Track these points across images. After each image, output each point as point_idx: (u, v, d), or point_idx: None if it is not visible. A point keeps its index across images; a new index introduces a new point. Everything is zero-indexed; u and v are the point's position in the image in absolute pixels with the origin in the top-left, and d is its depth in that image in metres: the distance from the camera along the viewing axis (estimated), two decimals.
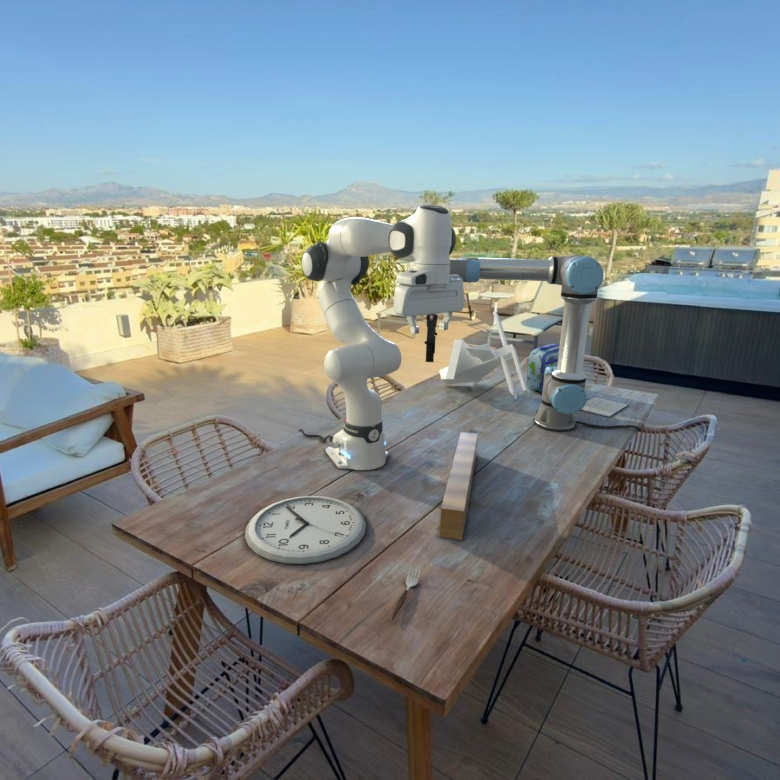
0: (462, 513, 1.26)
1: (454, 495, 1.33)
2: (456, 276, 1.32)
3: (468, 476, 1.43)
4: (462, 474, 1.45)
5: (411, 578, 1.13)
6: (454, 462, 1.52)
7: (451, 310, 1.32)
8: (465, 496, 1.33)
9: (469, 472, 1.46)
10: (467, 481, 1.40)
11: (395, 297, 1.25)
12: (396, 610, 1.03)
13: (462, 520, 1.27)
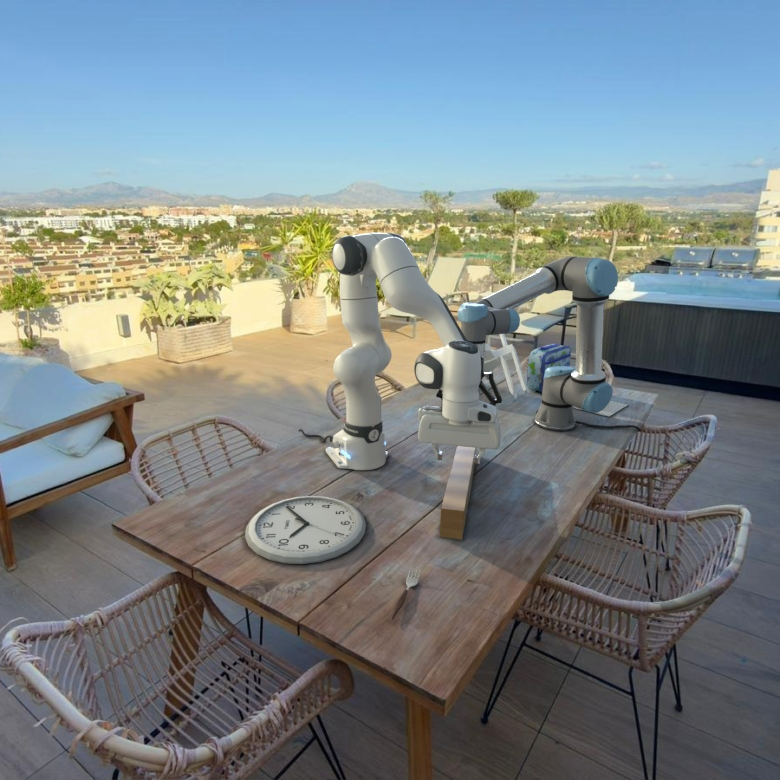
0: (462, 513, 1.26)
1: (454, 495, 1.33)
2: None
3: (468, 476, 1.43)
4: (462, 474, 1.45)
5: (411, 578, 1.13)
6: (454, 462, 1.52)
7: None
8: (465, 496, 1.33)
9: (469, 472, 1.46)
10: (467, 481, 1.40)
11: (499, 433, 1.25)
12: (396, 610, 1.03)
13: (462, 520, 1.27)
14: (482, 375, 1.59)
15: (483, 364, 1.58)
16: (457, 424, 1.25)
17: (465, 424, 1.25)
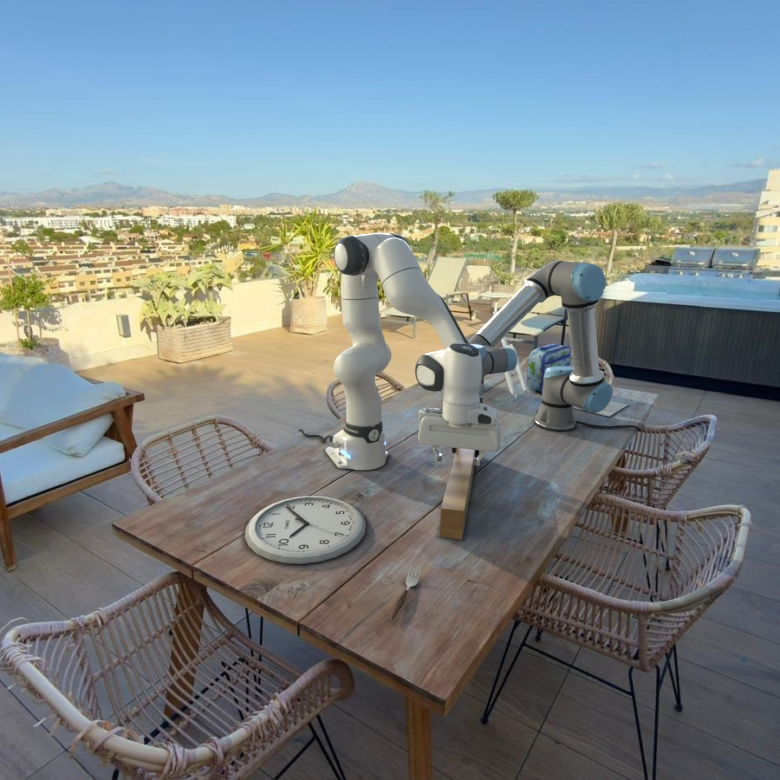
0: (462, 513, 1.26)
1: (454, 495, 1.33)
2: None
3: (468, 476, 1.43)
4: (462, 474, 1.45)
5: (411, 578, 1.13)
6: (454, 462, 1.52)
7: None
8: (465, 496, 1.33)
9: (469, 472, 1.46)
10: (467, 481, 1.40)
11: (499, 435, 1.25)
12: (396, 610, 1.03)
13: (462, 520, 1.27)
14: None
15: None
16: (457, 426, 1.25)
17: (465, 426, 1.25)
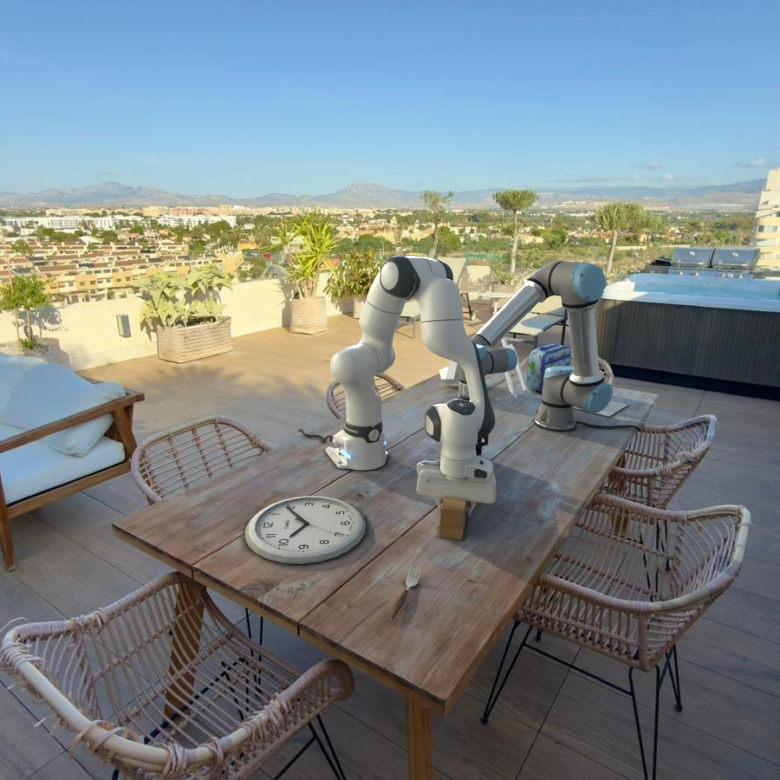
0: (462, 513, 1.26)
1: None
2: None
3: None
4: None
5: (411, 578, 1.13)
6: None
7: None
8: None
9: None
10: None
11: (495, 488, 1.29)
12: (396, 610, 1.03)
13: (462, 520, 1.27)
14: None
15: None
16: (454, 480, 1.29)
17: (462, 480, 1.29)
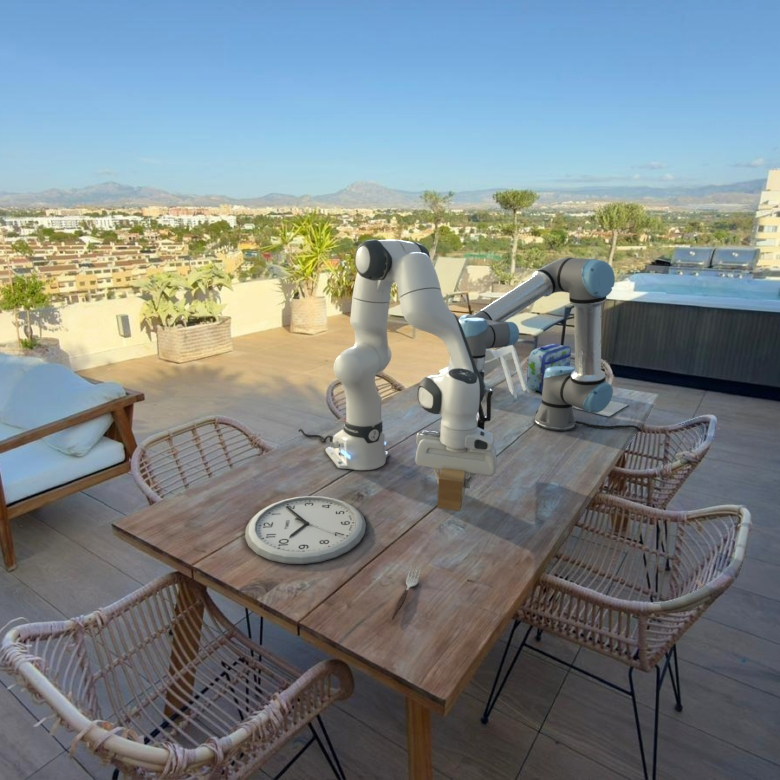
0: (460, 484, 1.24)
1: None
2: None
3: None
4: None
5: (411, 578, 1.13)
6: None
7: None
8: None
9: None
10: None
11: (495, 460, 1.27)
12: (396, 610, 1.03)
13: (460, 491, 1.24)
14: None
15: (483, 378, 1.59)
16: (454, 450, 1.27)
17: (462, 451, 1.27)
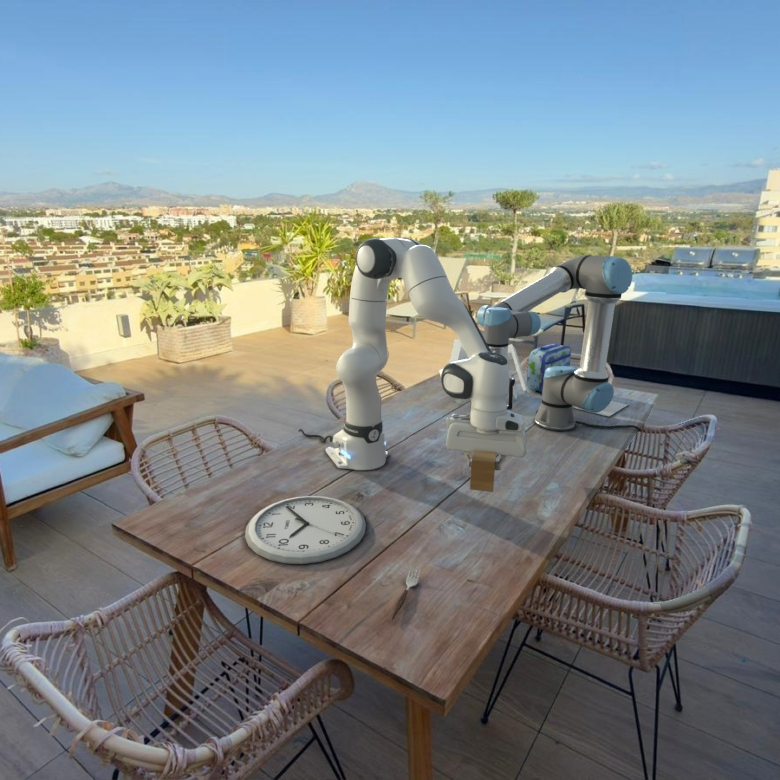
0: (493, 464, 1.26)
1: None
2: None
3: None
4: None
5: (411, 578, 1.13)
6: None
7: None
8: None
9: None
10: None
11: (526, 441, 1.29)
12: (396, 610, 1.03)
13: (493, 471, 1.26)
14: None
15: None
16: (485, 432, 1.29)
17: (493, 432, 1.29)
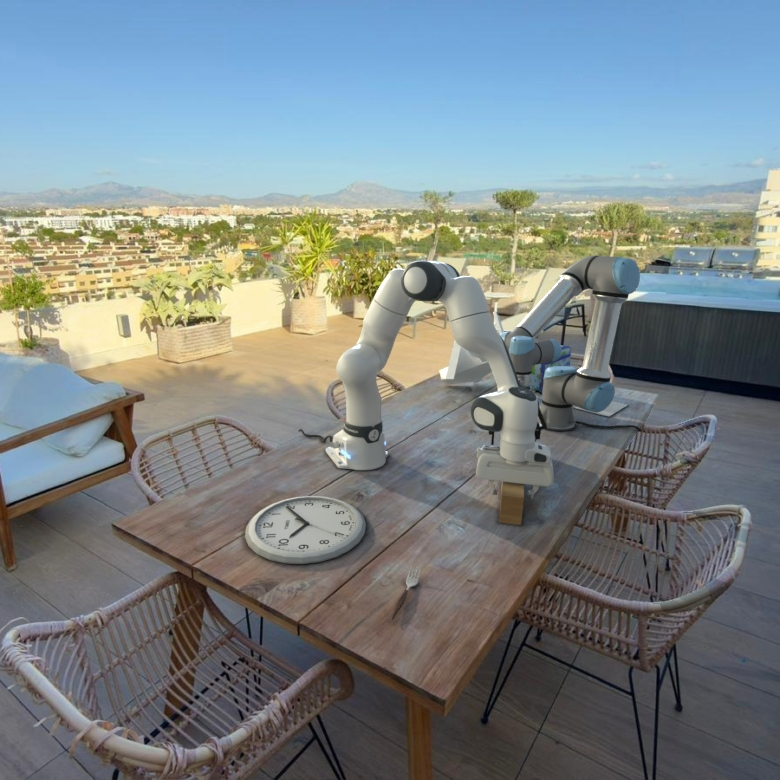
0: (522, 500, 1.33)
1: (511, 483, 1.40)
2: None
3: None
4: None
5: (411, 578, 1.13)
6: None
7: None
8: (522, 484, 1.39)
9: None
10: None
11: (553, 472, 1.36)
12: (396, 610, 1.03)
13: (522, 506, 1.33)
14: None
15: None
16: (514, 464, 1.35)
17: (522, 464, 1.35)
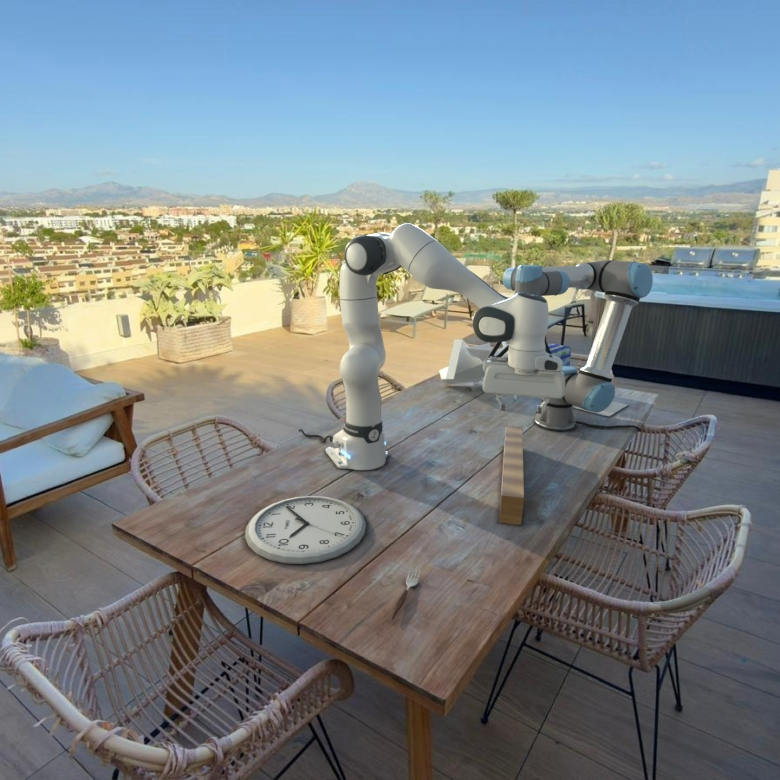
0: (522, 500, 1.33)
1: (511, 483, 1.40)
2: None
3: (521, 466, 1.50)
4: (515, 464, 1.51)
5: (411, 578, 1.13)
6: (505, 453, 1.58)
7: None
8: (522, 484, 1.39)
9: (521, 462, 1.52)
10: (521, 470, 1.47)
11: (564, 382, 1.28)
12: (396, 610, 1.03)
13: (522, 506, 1.33)
14: None
15: None
16: (523, 373, 1.28)
17: (531, 373, 1.28)
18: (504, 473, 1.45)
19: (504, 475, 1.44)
